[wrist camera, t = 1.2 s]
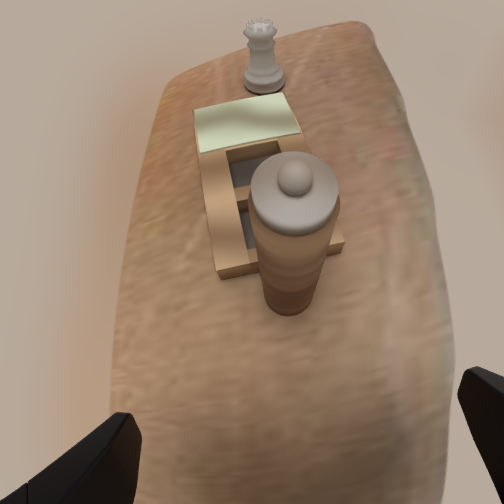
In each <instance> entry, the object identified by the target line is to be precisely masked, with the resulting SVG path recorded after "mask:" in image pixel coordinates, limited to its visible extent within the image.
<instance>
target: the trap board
mask: <svg viewBox="0 0 504 504" xmlns="http://www.w3.org/2000/svg"><path fill="white" fill-rule="evenodd" d="M192 113H193V121H194V129H195V136H196V143H197V151H198V158H199V165H200V172H201V179H202V185H203V192H204V199H205V205H206V212H207V218H208V224H209V230H210V237H211V243H212V249H213V255H214V261H215V266H216V271H217V273H218V275H219V277H220V278H221V280H224V279H229V278H233V277H238V276H242V275H247V274H251V273H256V272H260V268H259V262H258V257H257V252H256V246H255V241H254V236H253V230H252V225H251V219H250V214H249V209H248V196H249V192H250V189H251V180H252V177H253V174H254V172H255V170H256V169H257V167H258V166H259V165H260V164H261V163H262V162H263V161H265V160H266V159H268V158H269V157H271V156H273V155H276V154H279V153H283V152H291V151H296V152H304V153H308V154H311V152H310V149H309V147H308V145H307V142H306V140H305V138H304V135H303V133H302V131H301V128H300V126H299V124H298V122H297V119H296V117H295V115H294V113H293V110H292V108H291V106H290V104H289V102H288V100H287V97H286V95H285V93H284V92H281V93H275V94H269V95H263V96H257V97H252V98H246V99H241V100H236V101H231V102H227V103H222V104H218V105H213V106H209V107H205V108H200V109H196V110H192ZM311 155H312V154H311ZM344 243H345V240H344V237H343V235H342V232H341V229H340V226H339V223H338V221H336V224H335V227H334V231H333V234H332V237H331V241H330V244H329V247H328V250H327V254H326V256H330V255H334V254H338V253H341V250H342V248H343V245H344Z"/></svg>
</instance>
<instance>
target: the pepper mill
mask: <svg viewBox="0 0 504 504" xmlns="http://www.w3.org/2000/svg"><path fill="white" fill-rule="evenodd" d="M248 209H249V214H250V219H251V225H252V230H253V236H254V241H255V246H256V252H257V257H258V262H259V268H260V273H261V279H262V284H263V290H264V295H265V299H266V302H267V304H268V306H269V307H270V308H271V309H272V310H273V311H274V312H276V313H278V314H280V315H284V316H293V315H297V314H299V313H301V312H303V311H304V310H305V309H306V308H307V307H308V305H309V304H310V302H311V299H312V296H313V293H314V290H315V287H316V284H317V281H318V278H319V275H320V272H321V269H322V266H323V263H324V260H325V257H326V254H327V250H328V247H329V244H330V241H331V237H332V234H333V231H334V227H335V224H336V221H337V217H338V214H339V209H340V199H339V195H338V181H337V178H336V176H335V174H334V172H333V170H332V169H331V168H330V167H329V165H328V164H326V163H325V162H324V161H323V160H321V159H320V158H318V157H316V156H314V155H311V154H308V153H304V152H296V151H291V152H283V153H279V154H276V155H273V156H271V157H269V158H268V159H266V160H265V161H263V162H262V163H261V164H260V165H259V166H258V167H257V169H256V170H255V172H254V174H253V177H252V180H251V189H250V192H249V196H248Z"/></svg>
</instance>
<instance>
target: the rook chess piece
mask: <svg viewBox="0 0 504 504" xmlns="http://www.w3.org/2000/svg"><path fill="white" fill-rule="evenodd" d="M246 27H247V28H246V29H245V30H244V35H245V36H246V37H247V38H248V39H249V42H248V43H247V46H248V47H249V48H250V61H249V64H248V66H247V69H246V70H245V72H244V79H245V80H244V85H245V86H246V87H247V89H249V90H250V91H252V92H254V93H257V94H270V93H274V92H276V91H277V90H279V89H280V88H281V87H282V86H283V84H284V83H285V81H284V73H283V70H282V68H281V67H280V66H279V64H278V63H277V61H276V59H275V54H274V45H275V41H274V40H273V36H274V35H275V34H276V33H277V29H276V28H275V27H273V23H272V22H270V20H268V19H266V20H265V23H263V22H262V19H257V23H254V21H253V20H251V21H249V23H247V24H246Z"/></svg>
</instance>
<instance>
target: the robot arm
mask: <svg viewBox="0 0 504 504" xmlns="http://www.w3.org/2000/svg"><path fill="white" fill-rule="evenodd" d="M457 395H458V400H459V403H460V405H461V408H462V410H463V413H464V415H465V418H466V421H467V424H468V426H469V429H470V432H471V434H472V437H473V440H474V442H475V444H476V446H477V448H478V450H479V452H480V454H481V457H482V459H483V461H484V463H485V465H486V467H487V469H488V472H489V474H490V476H491V479H492V481H493V483H494V485H495V488H496V490H497V493H498V495H499V498H500V500H501V503H502V504H504V377H503V376H500V375H498V374H495V373H493V372H490V371H488V370H486V369H483V368H481V367H478V366H476V367H472V368H470V369H467V370H466V371H465V372H464V374H463V376H462V380H461V383H460V386H459V389H458V393H457ZM141 444H142V436H141V432H140V430H139V428H138V426H137V424H136V422H135V419H134V417H133V415H132V414H130V413H124V412H116V413H115V414H113V415H112V416H111V417H110V418H108V419H107V420H106V421H105V422H103V423H102V424H101V425H100V426H98V427H97V428H96V429H95V430H93V431H92V432H91V433H90V434H88V435H87V436H86V437H85V438H83V439H82V440H81V441H80V442H78V443H77V444H76V445H75V446H73V447H72V448H71V449H69V450H68V451H67V452H66V453H64V454H63V455H62V456H61V457H59V458H58V459H57V460H55V461H54V462H53V463H51V464H50V465H49V466H47V467H46V468H45V469H44V470H42V471H41V472H40V473H38V474H37V475H36V476H34V477H33V478H32V479H30V480H29V481H28V483H25V484H23V485H22V486H21V487H20V488H18V489H17V490H15V491H14V492H12V493H11V494H10V495H8V496H7V497H5V498H4V499H2V500H0V504H133V502H134V498H135V493H136V488H137V481H138V471H139V461H140V453H141Z"/></svg>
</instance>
